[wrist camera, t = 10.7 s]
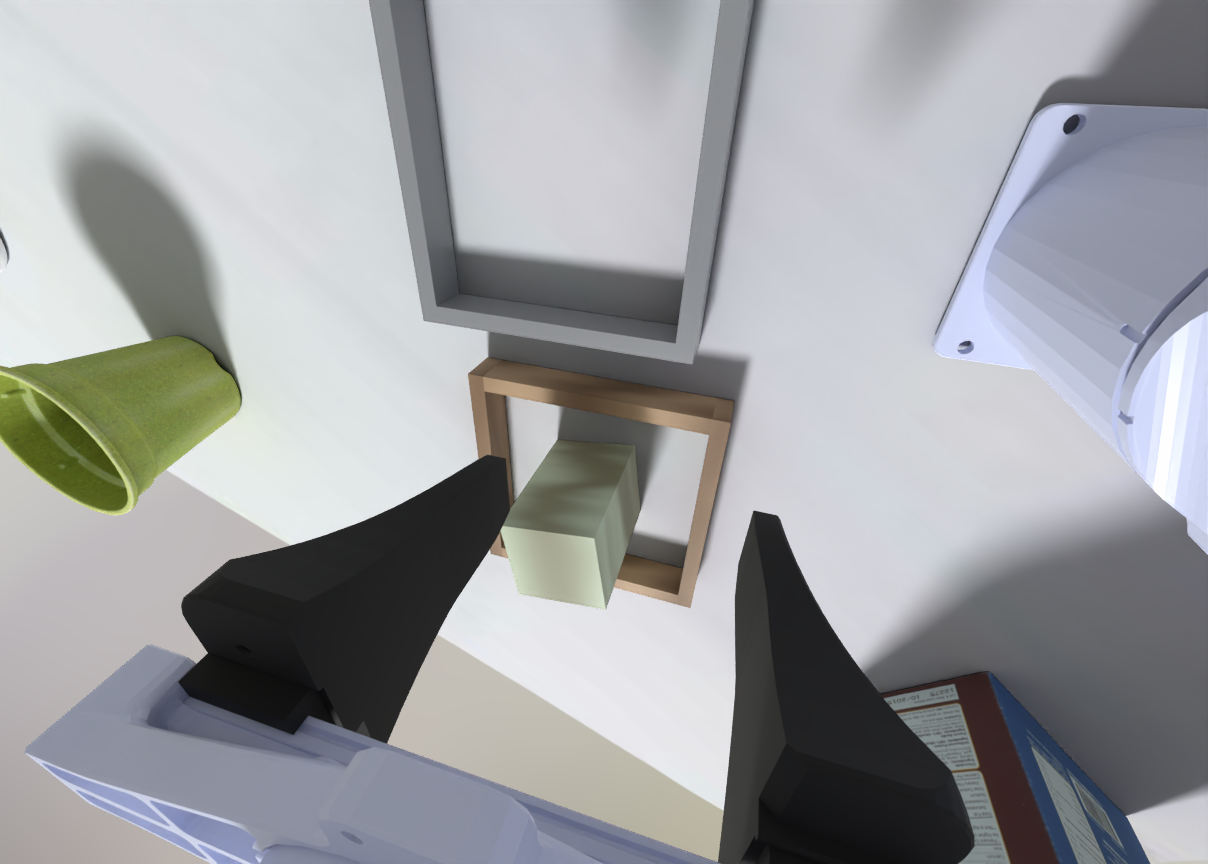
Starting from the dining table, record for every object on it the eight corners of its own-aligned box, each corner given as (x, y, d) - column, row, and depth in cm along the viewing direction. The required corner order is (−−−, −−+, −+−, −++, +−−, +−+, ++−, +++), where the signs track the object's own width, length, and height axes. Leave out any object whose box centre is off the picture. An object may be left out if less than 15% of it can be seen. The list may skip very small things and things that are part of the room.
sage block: (634, 445, 26) (594, 538, 20) (640, 509, 28) (605, 609, 22) (557, 439, 27) (498, 525, 21) (569, 501, 29) (519, 593, 24)
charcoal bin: (761, -43, 15) (758, -62, 13) (698, 346, 22) (692, 364, 20) (398, -37, 17) (360, -52, 16) (447, 307, 24) (423, 320, 23)
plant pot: (250, 338, 30) (88, 407, 23) (275, 454, 35) (151, 538, 28) (122, 289, 31) (-70, 340, 24) (167, 409, 36) (21, 479, 29)
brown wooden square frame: (734, 400, 23) (730, 422, 21) (695, 581, 30) (690, 607, 28) (487, 357, 25) (468, 373, 24) (505, 531, 32) (490, 553, 31)
